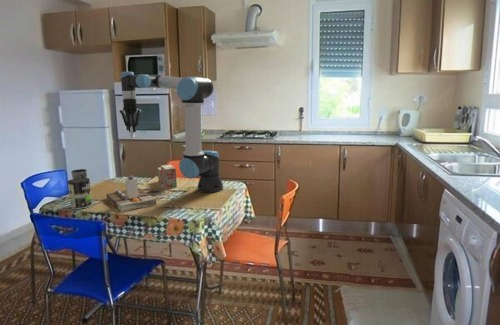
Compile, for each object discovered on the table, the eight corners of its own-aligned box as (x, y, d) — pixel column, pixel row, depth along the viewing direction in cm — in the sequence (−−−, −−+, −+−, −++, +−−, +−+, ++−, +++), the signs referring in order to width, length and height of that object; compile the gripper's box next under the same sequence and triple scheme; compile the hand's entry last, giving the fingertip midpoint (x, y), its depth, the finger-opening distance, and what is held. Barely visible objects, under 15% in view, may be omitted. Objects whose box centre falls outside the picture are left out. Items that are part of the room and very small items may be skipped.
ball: (140, 203, 194) (141, 197, 191) (137, 208, 190) (138, 202, 188) (133, 200, 193) (133, 195, 191) (130, 205, 190) (130, 200, 188)
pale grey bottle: (127, 197, 194) (125, 176, 192) (136, 195, 197) (134, 174, 194) (128, 199, 191) (126, 177, 189) (138, 197, 194) (136, 175, 192)
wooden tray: (106, 198, 204) (106, 191, 203) (138, 192, 214) (138, 185, 213) (121, 211, 182) (120, 203, 181) (156, 204, 192) (155, 196, 191)
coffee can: (96, 203, 196) (93, 177, 194) (84, 209, 187) (81, 182, 184) (79, 202, 199) (76, 177, 196) (66, 208, 189) (63, 182, 186)
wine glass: (92, 195, 211) (89, 170, 208) (78, 199, 206) (74, 172, 203) (86, 193, 217) (83, 168, 214) (72, 196, 211) (68, 170, 208)
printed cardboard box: (158, 181, 240) (156, 163, 238) (167, 180, 243) (166, 161, 241) (167, 189, 222) (165, 169, 219) (177, 187, 225) (175, 167, 222)
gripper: (142, 97, 222) (145, 136, 227) (121, 98, 224) (125, 137, 228) (137, 98, 215) (141, 138, 220) (116, 98, 216) (120, 138, 221)
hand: (133, 137), depth 224 cm, fingers closed
